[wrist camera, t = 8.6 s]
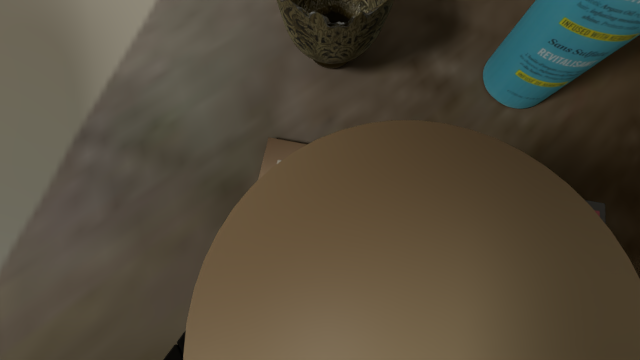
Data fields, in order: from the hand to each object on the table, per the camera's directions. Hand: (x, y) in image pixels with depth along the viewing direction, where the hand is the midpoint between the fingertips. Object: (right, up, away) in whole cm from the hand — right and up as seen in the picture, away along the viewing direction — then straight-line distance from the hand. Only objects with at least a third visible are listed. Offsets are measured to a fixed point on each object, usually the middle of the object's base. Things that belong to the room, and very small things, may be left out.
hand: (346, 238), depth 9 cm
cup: (0, +11, +16) cm, 20 cm away
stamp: (0, -3, +6) cm, 7 cm away
